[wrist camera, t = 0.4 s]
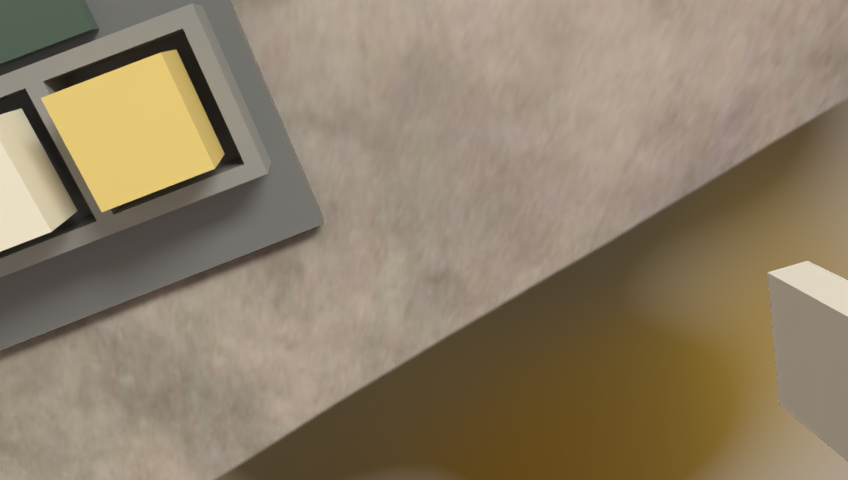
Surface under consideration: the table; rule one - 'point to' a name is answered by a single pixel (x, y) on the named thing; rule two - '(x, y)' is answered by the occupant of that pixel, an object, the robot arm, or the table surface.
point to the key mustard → (135, 129)
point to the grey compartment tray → (159, 211)
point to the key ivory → (27, 185)
